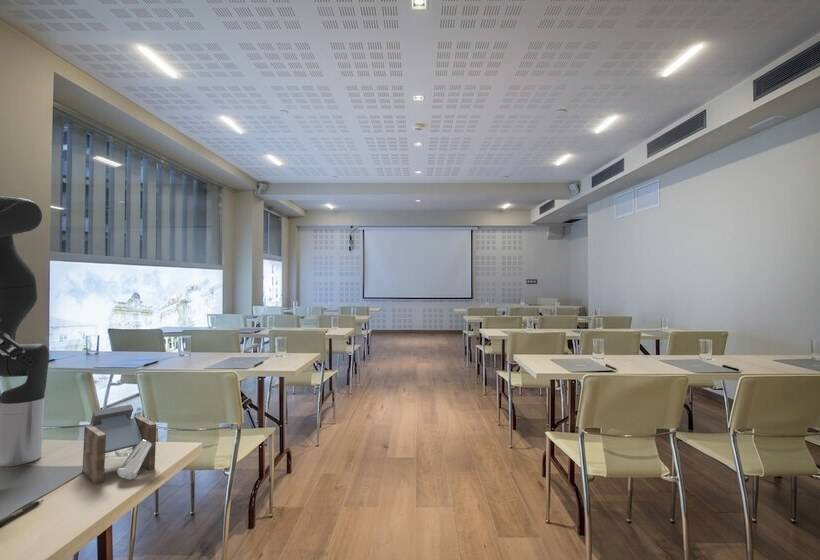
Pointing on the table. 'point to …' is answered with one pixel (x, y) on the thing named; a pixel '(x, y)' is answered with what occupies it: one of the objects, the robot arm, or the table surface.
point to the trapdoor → (117, 427)
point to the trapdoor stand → (96, 448)
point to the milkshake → (134, 460)
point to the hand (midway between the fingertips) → (31, 363)
